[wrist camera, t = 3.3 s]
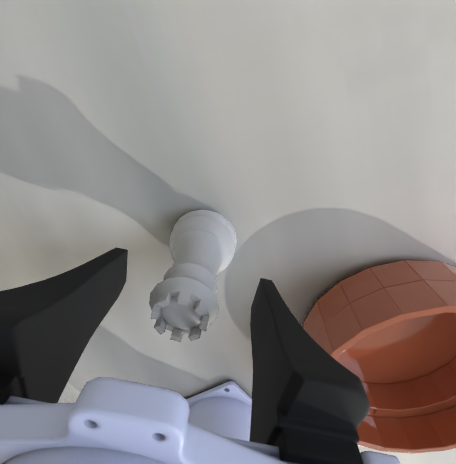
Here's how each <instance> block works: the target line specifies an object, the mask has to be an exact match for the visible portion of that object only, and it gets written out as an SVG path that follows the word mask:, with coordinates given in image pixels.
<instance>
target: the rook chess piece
mask: <svg viewBox="0 0 456 464" xmlns="http://www.w3.org/2000/svg"><path fill="white" fill-rule="evenodd" d="M236 244H237V239H236V233H235V230H234V228H233V227H232V225H231V224H230V222H229V221H228V220H227V219H226V218H224V217H223V216H221V215H220V214H218V213H216V212H212V211H208V210H196V211H190V212H189V213H187V214H185V215H184V216H182V217H180V218H179V220H178V221H177V223H176V224H175V226H174V227H173V231H172V233H171V237H170V244H169V247H170V251H171V254H172V258H173V260H174V263H173V267H171V268H170V269H169V270H168V271H167V273H166V274H165V275H164V280H163V281H162V282H160V283H158V284H157V285H156V286H155V288H154V289H153V290H152V292H151V293H150V301H149V304H150V307H151V310H152V313H151V319H157V321H156V323H155V326H154V328H155V329H156V330H157V331H158V332H159V333H160V334H162V333H164V332H165V330H166V329H168V330H170V331H172V335H171V338H170V340H174V341H179V342H181V339H182V335H183V334H189V338H190V340H191V341H193V340H195V339H198V338H200V335H201V330H204V331H206V329H207V327H208V326H209V325H210V324H211V323H212V322H213V321H214V320H215V319H216V317H217V314H218V310H219V306H218V302H217V297H216V296H215V295H216V291H217V283H216V276H217V274H218V273H219V272H220V271H222V270H224V269H225V268H226V266H227V265H228V264H229V263H230V262H231V260H232V259H233V255H234V252H235V247H236Z"/></svg>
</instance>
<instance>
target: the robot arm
mask: <svg viewBox="0 0 456 464" xmlns="http://www.w3.org/2000/svg"><path fill="white" fill-rule="evenodd" d="M127 254H128V250H125V249H120V248H114V249H112V250H110V251H108V252H106V253H105V254H103V255H101V256H99V257H97V258H95V259H93V260H91V261H89V262H87V263H85V264H83V265H81V266H78V267H76V268H74V269H72V270H69V271H67V272H65V273H62V274H60V275H57V276H54V277H52V278H49V279H46V280H43V281H39V282H36V283H32V284H29V285H25V286H22V287H18V288H13V289H9V290H4V291H0V464H400V462H399V460H398V458H397V457H396V456H393V455H387V454H382V453H377V452H372V451H364V452H361V453H360V452H359V449H358V446H357V443H358V442H359V435H358V432H357V428H358V426H359V425H360V424H361V422H362V421H363V420H364V418H365V417H366V416H367V414H368V412H369V410H370V402H369V400H368V397H367V395H366V392H365V389H364V387H363V385H362V383H361V380H360V378H359V377H358V376H356V375H355V374H354V373H352V372H351V371H350V370H348V369H347V368H345V367H344V366H343V365H341V364H340V363H339V362H338V361H336V360H335V359H334V358H333V357H332V356H330V355H329V354H328V353H327V352H326V351H325V350H324V349H323V348H322V347H321V346H320V345H319V344H317V343H316V342H315V341H314V340H313V339H312V337H311V336H310V335H309V334H308V333H307V332H306V331H305V330H304V328H303V327H302V326H301V325H300V324H299V322H298V321H297V320H296V318H295V317H294V316H293V314H292V313H291V311H290V310H289V308H288V307H287V305H286V304H285V302H284V301H283V299H282V297H281V296H280V294H279V292H278V290H277V289H276V287H275V285H274V283H273V282H272V280H267V279H262V278H261V279H260V282H259V285H258V288H257V291H256V294H255V297H254V301H253V304H252V307H251V322H250V326H251V342H252V357H253V388H252V399H251V398H250V397H249V396H248V395H247V394H246V393H245V392H244V391H243V390H242V389H241V388H240V387H239V386H238V385H237V384H236V383H235V382H233V381H229V382H226V383H224V384H222V385H219V386H217V387H214V388H212V389H210V390H207V391H205V392H202V393H200V394H198V395H195V396H193V397H190V398H188V399H185V398H184V397H183V396H182V395H181V394H179V393H178V392H175V391H172V390H170V389H166V388H161V387H156V386H151V385H146V384H141V383H136V382H131V381H125V380H120V379H115V378H107V377H98V378H95V379H93V380H91V381H88V382H87V383H86V384H85V386H84V388H83V390H82V392H81V393H80V395H79V397H78V399H77V400H76V402H75V403H58V401H59V398H60V396H61V394H62V392H63V390H64V388H65V386H66V384H67V382H68V380H69V378H70V376H71V374H72V372H73V370H74V368H75V366H76V364H77V362H78V360H79V358H80V356H81V354H82V353H83V351H84V349H85V347H86V345H87V343H88V342H89V340H90V338H91V336H92V335H93V333H94V332H95V330H96V329H97V327H98V326H99V324H100V323H101V321H102V320H103V318H104V317H105V316H106V314H107V313H108V311H109V310H110V308H111V307H112V305H113V304H114V302H115V301H116V300H117V298H118V296H119V294H120V293H121V291H122V289H123V287H124V284H125V282H126V275H127Z"/></svg>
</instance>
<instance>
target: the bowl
mask: <svg viewBox="0 0 456 464" xmlns="http://www.w3.org/2000/svg"><path fill="white" fill-rule="evenodd" d="M303 328H304V330H305V331H306V332H307V333H308V334H309V335H310V336H311V337H312V339H313V340H314V341H315V342H316V343H317V344H319V345H320V346H321V347H322V348H323V349H324V350H325V351H326V352H327V353H328V354H329V355H330V356H332V357H333V358H334V359H335V360H336V361H338V362H339V363H340V364H341V365H343V366H344V367H345V368H347V369H348V370H350V371H351V372H352V373H354V374H355V375H356V376H358V377H359V378H360V380H361V383H362V385H363V387H364V389H365V392H366V395H367V397H368V400H369V402H370V410H369V412H368V414H367V416H366V417H365V418H364V420H363V421H362V422H361V424H360V425H359V426H358V428H357V432H358V435H359V442H358V443H357V445H360V446H364V447H368V448H372V449H376V450H379V451H387V452H401V453H422V452H433V451H445V450H449V449H453V448H456V267H455V266H452V265H449V264H446V263H443V262H440V261H418V260H402V261H397V262H393V263H388V264H383V265H379V266H374V267H370V268H367V269H365V270H363V271H361V272H359V273H357V274H355V275H353V276H351V277H348V278H346V279H344V280H342V281H340V283H337V284H336V285H335V286H334V287H333V288H332V289H330V290H329V291H328V292H327V293H326V294H325V295H323V296H322V297H321V298H320V299H319V300H318V301H317V302H316V303H315V305H314V306H313V308H312V310H311V311H310V313H309V315H308V316H307V318H306V320H305V321H304V325H303Z"/></svg>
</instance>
